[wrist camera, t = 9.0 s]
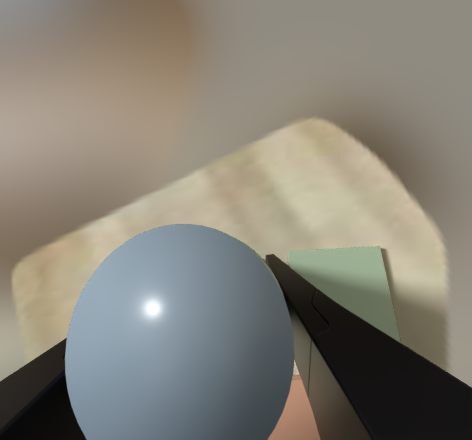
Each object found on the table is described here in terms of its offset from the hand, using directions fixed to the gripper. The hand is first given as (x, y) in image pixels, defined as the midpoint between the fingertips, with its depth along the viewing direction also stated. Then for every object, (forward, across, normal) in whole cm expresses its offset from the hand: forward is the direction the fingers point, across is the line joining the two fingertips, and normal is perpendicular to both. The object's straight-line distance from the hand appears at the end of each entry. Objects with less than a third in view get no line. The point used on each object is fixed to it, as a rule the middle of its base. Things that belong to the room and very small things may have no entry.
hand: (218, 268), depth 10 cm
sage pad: (+2, +8, -7) cm, 11 cm away
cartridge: (+4, 0, -6) cm, 7 cm away
